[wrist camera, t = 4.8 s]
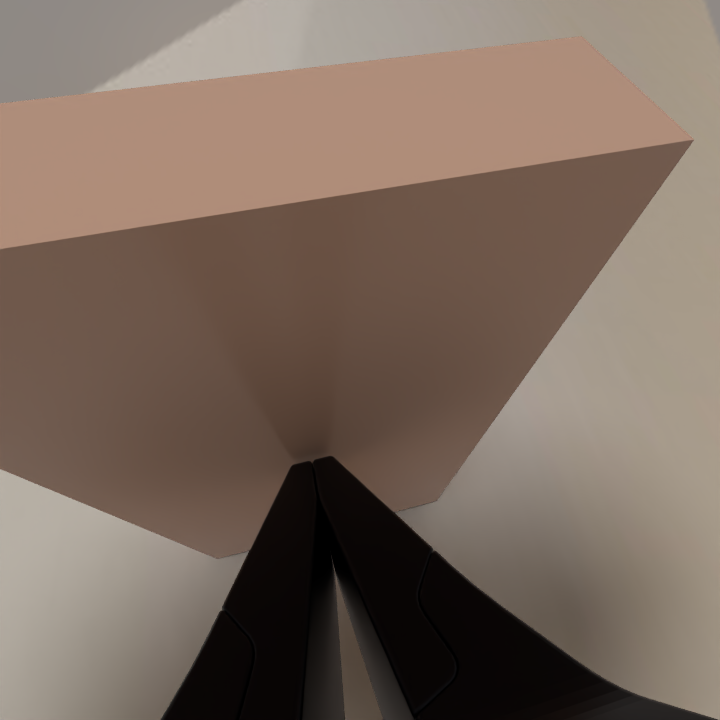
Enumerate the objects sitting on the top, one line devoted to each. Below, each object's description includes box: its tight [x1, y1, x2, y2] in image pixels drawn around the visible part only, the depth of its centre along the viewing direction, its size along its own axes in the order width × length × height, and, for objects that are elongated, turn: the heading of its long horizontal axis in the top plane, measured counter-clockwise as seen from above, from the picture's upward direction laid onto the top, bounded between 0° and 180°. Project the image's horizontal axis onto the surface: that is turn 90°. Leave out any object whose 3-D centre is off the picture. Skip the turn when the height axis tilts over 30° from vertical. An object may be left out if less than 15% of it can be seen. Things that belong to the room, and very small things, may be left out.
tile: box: [0, 36, 694, 559], centre depth 10 cm, size 2×8×14 cm, turn 104°
